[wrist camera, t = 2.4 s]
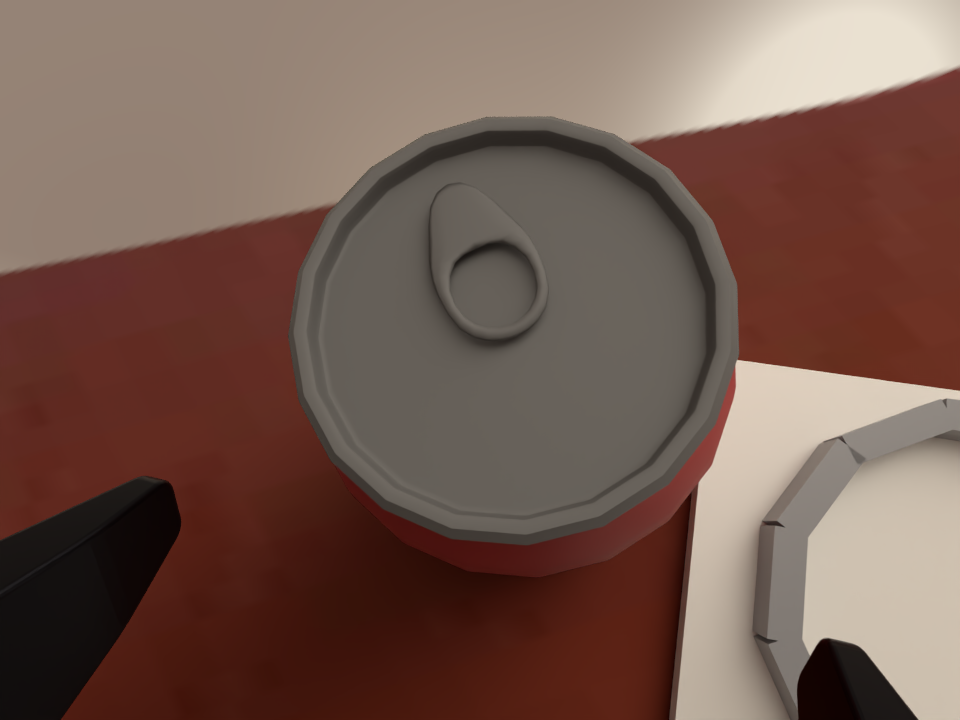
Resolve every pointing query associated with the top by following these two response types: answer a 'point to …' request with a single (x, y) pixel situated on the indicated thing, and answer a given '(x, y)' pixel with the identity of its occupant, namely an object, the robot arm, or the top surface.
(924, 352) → the top surface
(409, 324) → the beer can
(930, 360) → the top surface
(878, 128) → the top surface
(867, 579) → the board
